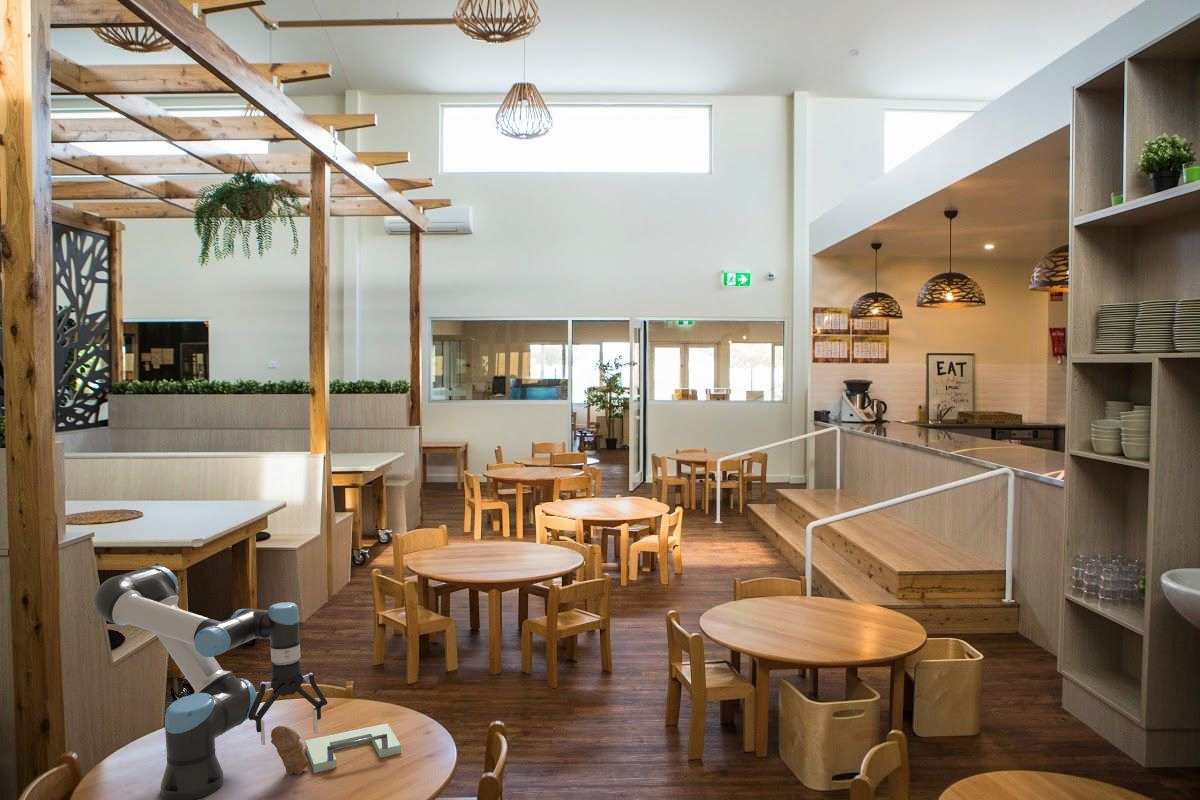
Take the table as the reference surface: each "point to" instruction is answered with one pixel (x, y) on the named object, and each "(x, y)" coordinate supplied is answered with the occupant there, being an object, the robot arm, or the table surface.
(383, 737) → the bar handle
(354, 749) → the table surface
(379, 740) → the pale green u-shaped slab
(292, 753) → the figurine
